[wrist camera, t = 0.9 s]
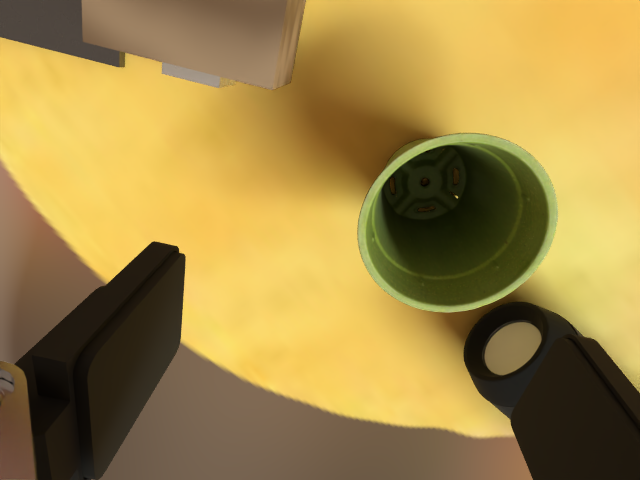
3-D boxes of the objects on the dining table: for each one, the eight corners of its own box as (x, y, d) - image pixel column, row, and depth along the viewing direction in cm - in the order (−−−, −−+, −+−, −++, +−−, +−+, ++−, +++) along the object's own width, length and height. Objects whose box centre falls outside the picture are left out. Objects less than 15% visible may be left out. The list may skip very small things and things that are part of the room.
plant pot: (404, 264, 38) (422, 341, 28) (329, 166, 34) (319, 211, 24) (522, 194, 34) (593, 253, 24) (451, 76, 31) (499, 86, 21)
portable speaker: (445, 333, 41) (471, 412, 32) (528, 275, 37) (583, 344, 28) (587, 460, 47) (643, 557, 38) (671, 420, 43) (754, 516, 34)
